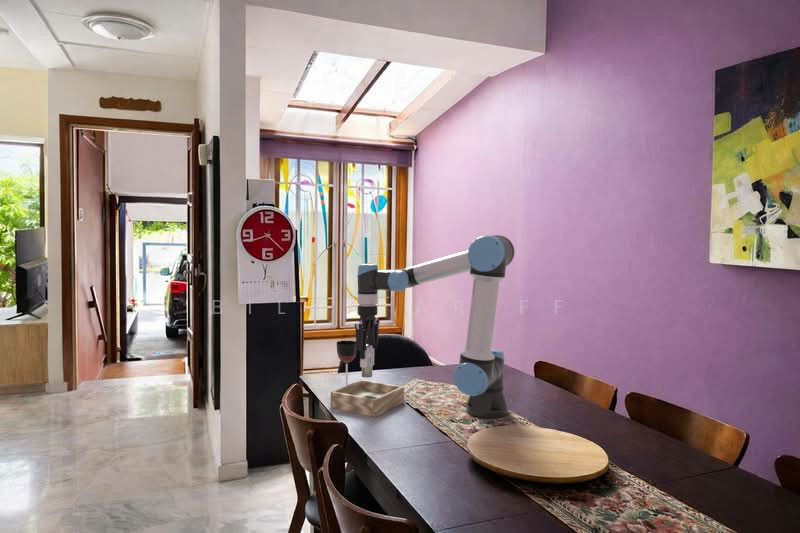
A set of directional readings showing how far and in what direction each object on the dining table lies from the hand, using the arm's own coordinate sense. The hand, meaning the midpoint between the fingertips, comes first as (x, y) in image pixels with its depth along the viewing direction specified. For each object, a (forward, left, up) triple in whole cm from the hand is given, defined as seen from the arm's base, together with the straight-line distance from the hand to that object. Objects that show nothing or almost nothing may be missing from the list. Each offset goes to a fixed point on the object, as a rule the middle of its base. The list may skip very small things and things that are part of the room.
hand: (367, 365), depth 200 cm
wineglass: (+19, -12, -15) cm, 27 cm away
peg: (0, 0, -4) cm, 4 cm away
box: (0, 0, -15) cm, 15 cm away
